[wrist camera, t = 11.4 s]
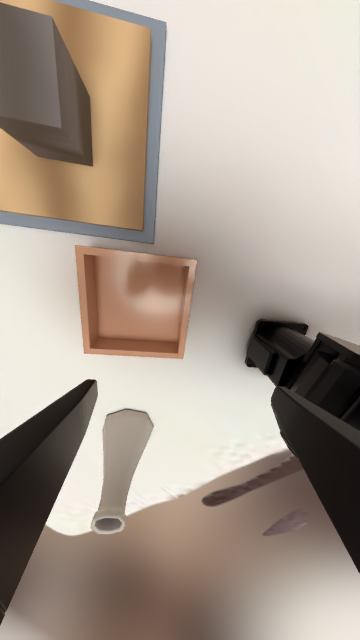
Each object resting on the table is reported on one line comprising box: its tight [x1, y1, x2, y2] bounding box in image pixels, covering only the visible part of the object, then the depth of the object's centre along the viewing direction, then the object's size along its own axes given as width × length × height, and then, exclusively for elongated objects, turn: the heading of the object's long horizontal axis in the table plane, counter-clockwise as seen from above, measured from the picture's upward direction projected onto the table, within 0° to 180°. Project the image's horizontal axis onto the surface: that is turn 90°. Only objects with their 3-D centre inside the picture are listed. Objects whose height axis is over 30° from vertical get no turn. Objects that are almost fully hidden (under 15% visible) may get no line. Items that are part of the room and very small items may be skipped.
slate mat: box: [0, 0, 166, 244], centre depth 14 cm, size 14×14×1 cm
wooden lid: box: [0, 0, 152, 231], centre depth 11 cm, size 12×12×5 cm
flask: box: [91, 410, 154, 534], centre depth 21 cm, size 7×7×10 cm
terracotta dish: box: [75, 245, 197, 359], centre depth 18 cm, size 10×10×3 cm
